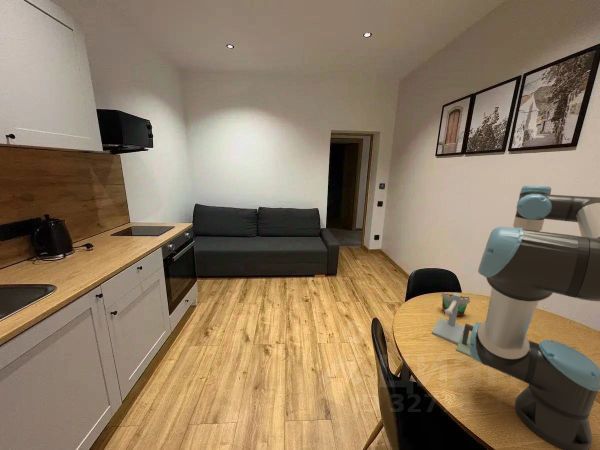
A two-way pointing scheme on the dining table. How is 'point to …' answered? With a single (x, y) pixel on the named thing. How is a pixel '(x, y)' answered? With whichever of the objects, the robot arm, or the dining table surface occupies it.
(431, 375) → the dining table surface
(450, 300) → the food container
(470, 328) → the link
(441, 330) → the stand
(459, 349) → the mat
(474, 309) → the dining table surface
